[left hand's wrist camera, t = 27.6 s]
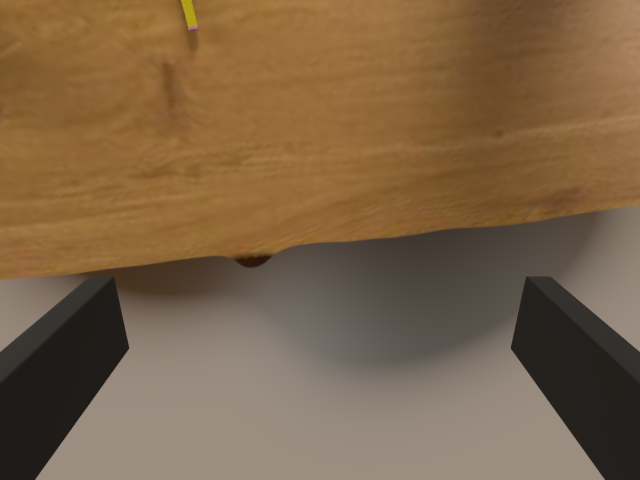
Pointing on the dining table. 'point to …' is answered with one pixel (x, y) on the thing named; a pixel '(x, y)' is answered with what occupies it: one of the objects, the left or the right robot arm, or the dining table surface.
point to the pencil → (190, 15)
